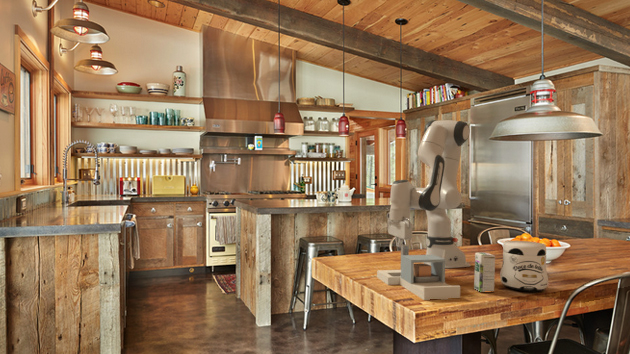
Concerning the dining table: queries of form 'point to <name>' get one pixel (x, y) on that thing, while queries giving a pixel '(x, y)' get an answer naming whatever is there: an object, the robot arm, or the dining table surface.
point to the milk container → (524, 266)
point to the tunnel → (409, 261)
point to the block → (422, 270)
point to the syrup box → (484, 272)
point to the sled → (418, 278)
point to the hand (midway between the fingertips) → (399, 247)
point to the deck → (420, 286)
